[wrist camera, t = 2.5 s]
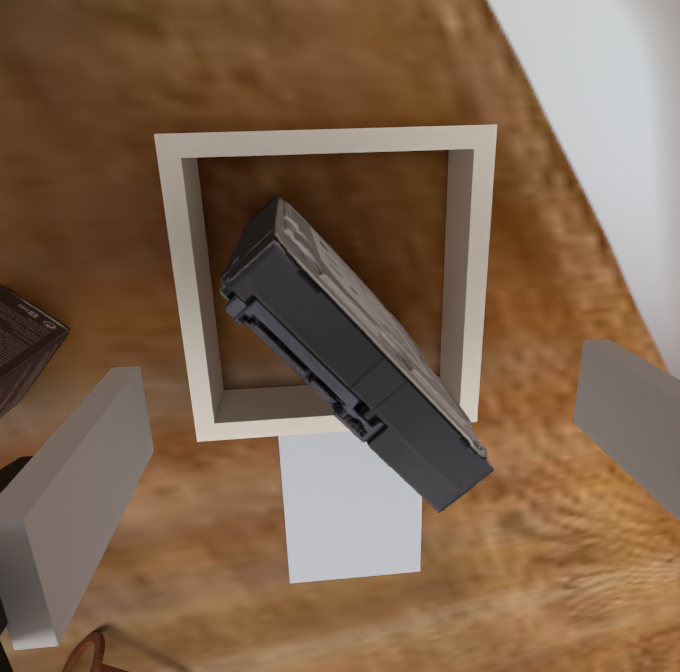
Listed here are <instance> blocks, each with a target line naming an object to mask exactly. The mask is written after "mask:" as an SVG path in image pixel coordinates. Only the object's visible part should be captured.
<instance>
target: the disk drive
mask: <svg viewBox="0 0 680 672" xmlns="http://www.w3.org/2000/svg"><path fill="white" fill-rule="evenodd" d="M242 233H243V234H242V235H241V238H240V240H239V242H238V244H237V246H236V247H235V249H234V252H233V254H232V256H231V258H230V261H229V263H228V264H227V265H228V266H227V267H226V269H225V270H224V271H223V272H222V273H221V276H220V280H219V281H220V283H221V284H222V287H221V288H220V293H219V294H220V295H222V296H223V297H224V298H225V299H226V300H227V301H228V303H227V305H226V308H225V311H226V312H227V314H229V315H230V316H231V317H232V318H233V319H234V321H235V322H236V323H237V324H239V325H240V326H241V325H242V323H244V324H245V325H246V326H247V327H248V328H249V329H250V330H252V331H253V332H254V333H255V334H256V335H257V336H258V337H259V338H260V339H261V340H262V341H263V342H264V343H265V344H266V345H267V346H268V347H269V348H270V349H272V350H273V351H274V352H275V353H276V354H277V355H278V356H279V357H280V358H281V359H282V360H283V361H284V362H285V363H286V364H287V365H288V366H289V367H290V368H291V369H292V370H293V371H294V372H295V373H296V374H297V375H298V376H299V377H300V378H301V379H302V380H303V381H304V382H305V383H306V384H308V385H309V386H310V387H311V388H312V389H313V390H314V391H315V392H316V393H317V394H318V395H319V396H320V397H321V398H322V399H323V400H324V401H325V402H326V403H328V404H329V405H330V406H331V407H332V408H333V410H334V416H335V417H336V418H337V419H338V420H339V421H340V422H342V423H343V424H344V425H345V426H346V427H347V428H348V429H349V430H350V431H351V432H352V433H353V435H355V436H356V437H357V438H359V439H360V440H361V441H362V442H367V444H368V446H369V447H370V449H371V450H373V451H374V452H375V453H376V454H377V455H378V456H379V457H380V458H381V459H382V460H383V461H384V462H385V463H386V464H387V465H388V466H389V467H391V468H392V469H393V470H394V471H395V472H396V473H397V474H399V475H400V477H401V478H402V479H403V480H404V481H405V482H407V483H408V484H409V485H410V486H411V487H412V488H413V489H414V490H416V492H417V493H418V494H420V495H421V496H422V497H423V498H424V499H425V500H426V501H427V502H428V503H429V504H430V505H431V506H432V507H433V508H434V509H435V510H437V511H438V512H439V513H440V512H441V511H443V510H444V509H445V508H447V507H448V506H449V505H451V504H452V503H453V502H455V501H456V500H457V499H459V498H460V497H461V496H463V495H464V494H465V493H467V492H468V491H469V490H470V489H471V488H472V487H474V486H475V485H476V484H477V483H478V482H480V481H481V480H482V479H483V478H485V477H486V476H487V475H489V474H490V473H491V472H493V470H494V468H493V467H492V465H491V464H490V463H489V462H488V460H487V450H486V449H485V448H484V446H483V445H482V443H481V442H480V441H479V439H478V438H477V437H476V435H475V434H474V432H473V427H472V424H471V421H470V419H469V418H468V416H467V415H466V414H465V412H464V411H463V409H462V408H461V407H460V405H459V404H458V402H457V401H456V400H455V398H454V397H453V395H452V394H451V393H450V391H449V390H448V388H447V387H446V386H445V384H444V383H443V382H442V381H441V380H440V379H439V378H438V377H437V376H436V375H435V373H434V372H433V371H432V369H431V368H430V367H429V366H428V364H427V363H426V361H425V357H424V355H423V353H422V351H421V350H420V349H419V347H418V346H417V344H416V343H415V342H414V341H413V339H412V338H411V337H410V336H409V335H408V333H407V332H406V331H405V329H404V328H403V327H402V325H401V324H400V323H399V322H398V321H397V319H396V318H395V317H394V316H393V315H392V314H391V313H390V312H389V311H388V310H387V309H386V308H385V306H384V305H383V304H382V303H381V302H380V300H379V299H378V298H377V297H376V295H375V294H374V293H373V292H372V291H371V290H370V289H369V288H368V287H367V286H366V285H365V283H364V282H363V281H362V280H361V279H360V278H359V277H358V276H357V275H356V274H355V273H354V271H353V270H352V269H351V268H350V267H349V266H348V265H347V264H346V263H345V262H344V261H343V259H342V258H341V257H340V256H339V255H338V254H337V253H336V252H335V251H334V250H333V249H332V248H331V247H330V245H329V244H328V243H327V242H326V241H325V240H324V239H323V238H322V237H321V236H320V235H319V234H318V233H317V232H316V231H315V230H314V229H313V227H312V226H311V225H310V224H309V223H308V222H307V221H306V220H305V219H304V218H303V217H302V216H301V215H300V214H299V213H298V212H297V211H296V210H295V209H294V208H293V207H292V206H291V205H290V204H289V203H287V202H286V201H285V200H283V199H282V198H279V197H275V198H274V199H273V200H272V201H271V202H270V203H269V204H268V205H267V206H265V207H264V208H263V209H262V210H261V211H260V212H259V213H258V214H257V215H256V216H255V217H254V218H253V219H252V220H251V221H250V222H249V223H248V224H247V225H246V226H245V228H244V229H243V232H242Z"/></svg>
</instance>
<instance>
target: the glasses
mask: <svg viewBox="0 0 680 672" xmlns="http://www.w3.org/2000/svg"><path fill="white" fill-rule="evenodd" d="M93 643H94V645H95V653H94V659H93V663H92V666H91V670H90V672H128V671H125V670H122V669H118V668H115V667H112V666H109V665H105V664H102V661H103V656H104V650H105V639H104V636H103V634H100V633H97V632H93V633H91V634H89V635H88V636H86V637H85V638H84V639H83V640H82V641H81V642H80V643H79V645H78V646H77V647H76V648H75V650H74V651H73V653H72V654H71V656H70V657H69V659H68V661H67V663H66V665H65V667H64V669H63V671H62V672H71V671H72V669H73V666H74V665H75V663H76V661H77V660H78V658H79V657H80V655H81V654H82V653H83V651H84V650H85V649H86V648H87V647H88V646H90V645H91V644H93Z"/></svg>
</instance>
